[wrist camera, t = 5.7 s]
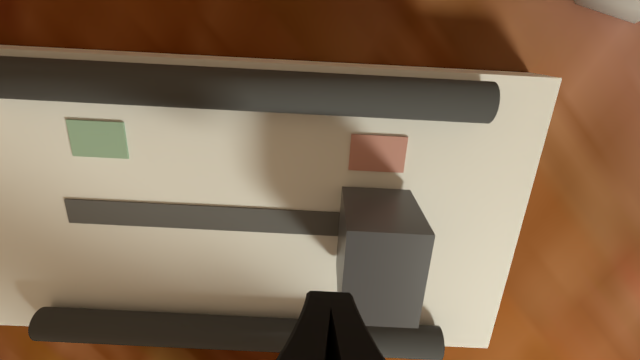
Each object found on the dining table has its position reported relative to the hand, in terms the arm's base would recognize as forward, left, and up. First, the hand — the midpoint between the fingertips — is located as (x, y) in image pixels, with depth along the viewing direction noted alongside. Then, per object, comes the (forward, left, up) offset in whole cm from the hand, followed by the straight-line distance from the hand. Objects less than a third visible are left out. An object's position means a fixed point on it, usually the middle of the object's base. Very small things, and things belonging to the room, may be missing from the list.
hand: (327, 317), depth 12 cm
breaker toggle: (0, -2, -6) cm, 6 cm away
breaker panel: (0, +4, -9) cm, 10 cm away
